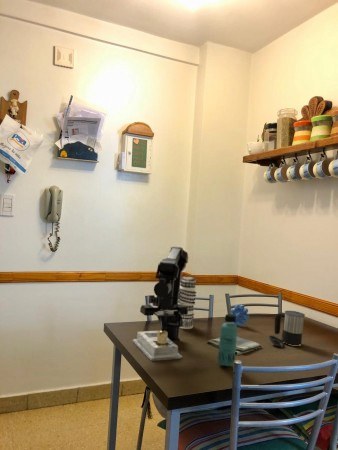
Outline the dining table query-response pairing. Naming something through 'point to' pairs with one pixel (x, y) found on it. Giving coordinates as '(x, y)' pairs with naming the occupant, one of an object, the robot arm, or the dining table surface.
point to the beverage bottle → (228, 341)
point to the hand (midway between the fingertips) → (162, 330)
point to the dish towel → (238, 345)
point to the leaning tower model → (187, 300)
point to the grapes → (240, 314)
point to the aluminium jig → (156, 347)
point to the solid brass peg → (162, 338)
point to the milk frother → (289, 328)
